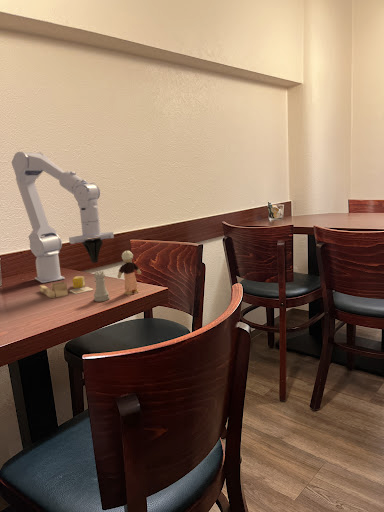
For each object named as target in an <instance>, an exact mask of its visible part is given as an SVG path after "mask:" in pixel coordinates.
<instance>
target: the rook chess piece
mask: <svg viewBox="0 0 384 512" xmlns="http://www.w3.org/2000/svg"><path fill="white" fill-rule="evenodd" d="M105 276H106V273H105V272H104V271H103V270H102V271H101V270H100V271H95V272H94V274H93V278H94V279H95V280H94V282H95V291H94V293H93V300H94V302H98V303H100V302H101V303H102V302H106V301H109V299H110V298H111V296H110V293H109V291H108V290H107V287H106V283H105V281H106V279H105Z"/></svg>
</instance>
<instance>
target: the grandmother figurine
mask: <svg viewBox="0 0 384 512" xmlns="http://www.w3.org/2000/svg"><path fill="white" fill-rule="evenodd" d="M121 259H122V260H123V262H124V264H122V265H121V266H120V268H119V269H118V275H117V278H118V279H121V278H122V275H123V277H124V290H125V291H124V293H123V294H124V295H129V296H130V295H133V294H135V293H137V294H138V293H139V290H138V283H137V278H136V274H135V271H136V273H137V275H142V271H141V270H140V268H139V266H138V265H137V264H136V263H135V262H133V259H134V254H133V253H132V252H131V251H130V250H125V251H123V252H122V254H121Z"/></svg>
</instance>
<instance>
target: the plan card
mask: <svg viewBox="0 0 384 512" xmlns="http://www.w3.org/2000/svg"><path fill="white" fill-rule="evenodd" d="M90 291H94V288H91V287H89V286H83V287H77V288H74V289H69V292H70V293H73V294H74V295H77V294H81V293H86V292H87V293H88V292H90Z"/></svg>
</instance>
